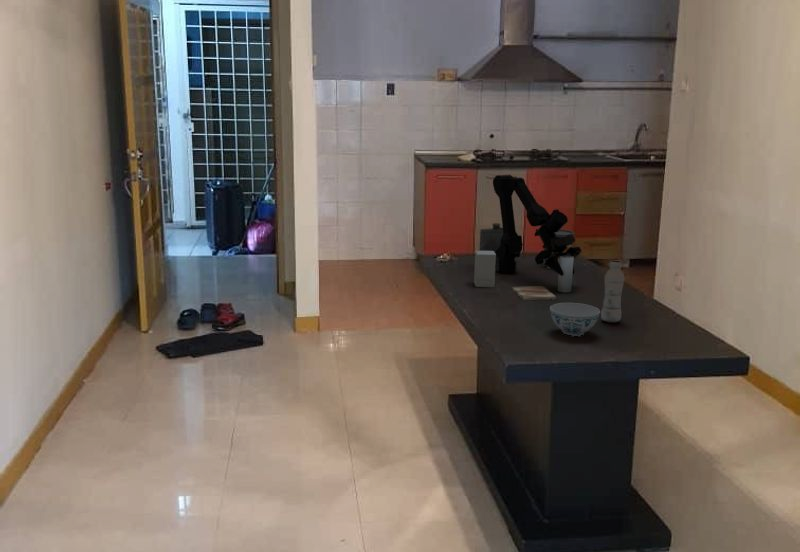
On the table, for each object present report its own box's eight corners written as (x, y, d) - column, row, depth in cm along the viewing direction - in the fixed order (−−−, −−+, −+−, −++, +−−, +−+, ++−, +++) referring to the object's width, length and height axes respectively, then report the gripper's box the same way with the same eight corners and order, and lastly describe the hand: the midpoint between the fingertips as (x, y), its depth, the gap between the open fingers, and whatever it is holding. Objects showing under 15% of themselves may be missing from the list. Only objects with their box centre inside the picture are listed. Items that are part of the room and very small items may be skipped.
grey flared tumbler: (556, 291, 289) (559, 257, 286) (558, 288, 294) (560, 254, 291) (570, 293, 288) (572, 258, 285) (571, 289, 292) (574, 255, 289)
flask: (477, 265, 329) (478, 223, 325) (508, 264, 333) (510, 222, 329) (480, 267, 326) (482, 224, 322) (512, 266, 330) (514, 223, 325)
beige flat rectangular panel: (511, 289, 292) (512, 286, 292) (542, 288, 294) (543, 286, 293) (523, 300, 278) (523, 297, 277) (556, 299, 279) (556, 296, 279)
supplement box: (494, 287, 295) (496, 254, 292) (475, 287, 295) (476, 254, 292) (492, 282, 302) (494, 250, 299) (473, 282, 302) (475, 250, 299)
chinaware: (562, 322, 252) (564, 299, 250) (606, 332, 243) (608, 308, 241) (539, 333, 241) (541, 309, 239) (584, 344, 232) (586, 319, 230)
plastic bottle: (598, 322, 253) (603, 262, 248) (603, 317, 259) (608, 258, 254) (618, 325, 250) (623, 264, 245) (622, 320, 256) (628, 260, 251)
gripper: (542, 229, 284) (560, 265, 277) (580, 225, 293) (599, 259, 287) (526, 246, 292) (544, 281, 286) (564, 241, 302) (582, 276, 295)
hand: (568, 274), depth 288 cm, fingers closed on grey flared tumbler, 5 cm apart
